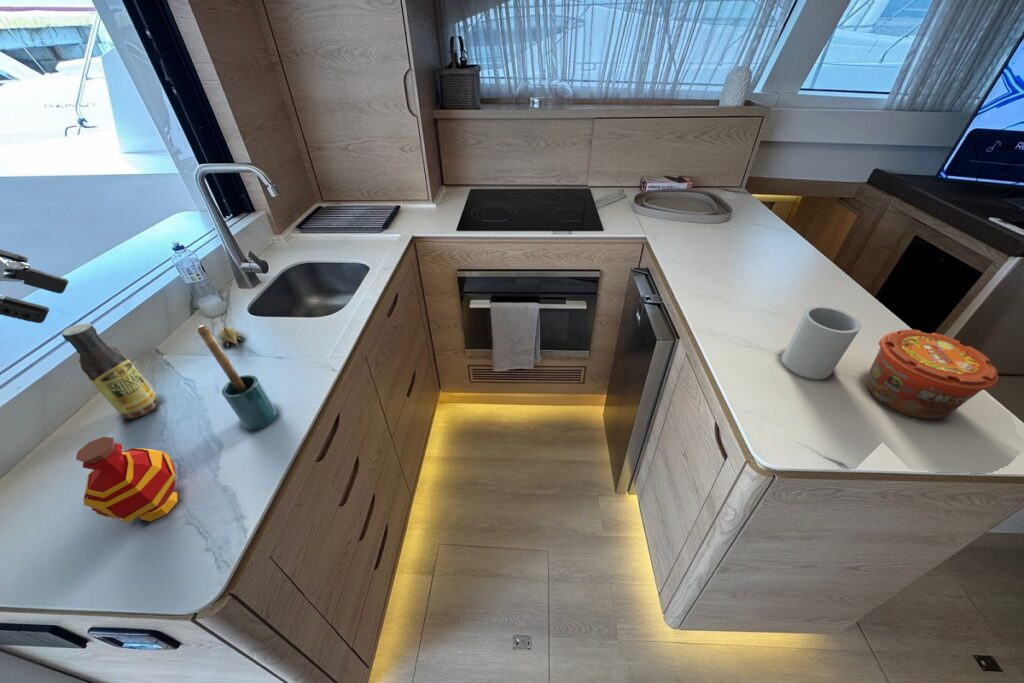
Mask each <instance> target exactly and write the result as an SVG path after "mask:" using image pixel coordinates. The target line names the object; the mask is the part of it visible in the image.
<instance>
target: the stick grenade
mask: <svg viewBox="0 0 1024 683" xmlns="http://www.w3.org/2000/svg"><path fill="white" fill-rule="evenodd" d="M197 333H198V334H199V336H200V338H201V339H202V340H203V342H204V343H205V345H206V346H207V348H208V350H209V351H210V353H211V354H212V355H213V357H214V359H215V361H217V363H218V365H219V366H220V368H221V369H222V371H223V372H224V374H225V375H226V377H227V378H228V380H229V381H231V383H232V384H233V386H234V387H235V389H236V390H237V392H238V393H237V394H240V393H243V392H245V391H247V390H248V389H250V388H246V386H245V385H244V383H243V382H242V380H241V378H240V374H238V372H237V370H236V369H235V367H234V366H233V364H232V363H231V361H230V359H229V358H228V356H227V355H226V353H225V351H224V350H223V349H222V347H221V344H220V343H219V342H218V340H217V339H216V338H215V336H214V334H213V333H212V331H211V330H210V328H209V327H208V326H207V325H200V326H198V327H197ZM237 394H236V395H237Z"/></svg>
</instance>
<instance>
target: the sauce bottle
mask: <svg viewBox="0 0 1024 683" xmlns="http://www.w3.org/2000/svg"><path fill="white" fill-rule="evenodd" d="M61 336H62V338H63V339H64V340H65V341H66V342H68V343H70V344H71V346H72V347H73V348H74V349H75V351H76V353H77V354H78V355H79V359H78V362H79V365H80V368H81V370H82V372H83V373H85V374H86V376H87V378H88V379H89V381H90V382H91V383H92V384H93V386H95V388H97V390H98V391H99V392H100V393H101V394H102V396H103V397H104V398H105V399H106V401H108V402H109V404H110V405H111V407H113V408H114V409H115V410H116V412H117V413H119V414H120V415H121V416H122V417H124V418H126V419H128V420H129V419H136V418H140V417H142V416H145V415H146V414H149V413H150V412H152V411H153V410H154V409H155V408H156V406H157V405H158V404H159V400H158V397H157V396H156V393H155V392H154V391H153V389H152V388H151V387H150V385H149V384H148V383H147V382H146V380H145V379H144V377H143V376H142V375H141V374H140V372H139V371H138V370H137V368H136V367H135V366H134V365H133V363H132V362H131V361H130V360H129V359H128V357H126V356H125V354H124V353H123V352H122V351H121V350H120V349H119V348H117V347H116V346H113V345H111V344H107V343H106V342H105V340H104V339H102V337H101V336H100V335H99V333H98V332H97V329H96V328H95V326H93V324H92V323H90V322H82V323H78V324H74V325H72V326H69V327H67V328H66V329H64V330H63V331H62V332H61Z"/></svg>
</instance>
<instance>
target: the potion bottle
mask: <svg viewBox="0 0 1024 683" xmlns="http://www.w3.org/2000/svg"><path fill="white" fill-rule="evenodd" d="M75 460H76V461H80V462H82V468H83V469H86V470H91V471H90V472H89V473H88V474H87V478H86V485H85V490H84V495H83V499H82V500H83V505H84V506H85V507H88V508H90V509H91V510H92V511H93V512H95V513H96V514H97V515H99V516H102V517H105V518H109V519H112V520H115V521H120V522H123V523H129V522H130V521H132V520H134V519H136V518H137V519H138V518H139V519H140V520H143V521H147V522H152V521H155V520H156V519H159V518H161V517H164V516H165V515H167V514H168V513H169V512H170V511H171V510H172V509H173V508H174V506H175V505H176V504H177V503H178V491H177V492H176V491H175V487H176V466H175V464H174V462H173V459H172V458H170V454H168V453H167V452H164V451H161V450H156V449H150V448H138V447H132V448H129V449H126V450H123V444H122V443H117V442H115V440H114V437H110V436H102V437H99V438H97V439H93V440H91V441H88V442H87V443H86V444H85V445H84V446H82V447H81V448H79V450H78V451H77V452H76V457H75Z"/></svg>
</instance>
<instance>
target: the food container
mask: <svg viewBox="0 0 1024 683" xmlns="http://www.w3.org/2000/svg"><path fill="white" fill-rule="evenodd" d="M878 345H879V348H878V352H877V354H876V356H875V358H874V360H873V362H872V364H871V367H870V369H869V370H868V373H867V375H866V377H865V379H864V385H865V388H866V390H867V391H868V393H869V394H870V396H871V397H873V398H874V399H875V400H876V401H878V402H879V403H881V404H883V405H884V406H886V407H887V408H889V409H891V410H893V411H895V412H897V413H900V414H903V415H906V416H909V417H912V418H916V419H920V420H931V421H932V420H941V419H944V418H947V417H948V416H949V415H951V414H952V413H953V412H954V411H956V410H957V409H959V408H960V407H962V405H964V404H966V403H967V401H969V400H971V399H972V398H974V397H975V396H976V395H978V394H979V393H980V392H981V391H985V390H988V389H991V388H993V387H994V386H995V385H997V383H998V380H999V374H998V370H997V369H996V367H995V366H994V365H993V364H992V363H991V362H990V361H991V359H989V358H988V357H987V356H986V355H985V354H984V353H982V352H981V351H979V350H978V349H976V348H974V347H973V346H965V345H964V344H961V341H960V340H958V339H955V338H953V337H949V336H947V335H944V334H940V333H936V332H932V333H927V332H922V330H920V329H900V330H898V331H891V332H889V333H886V334H885V335H883V336H882V337H881V339H880V340H879V342H878Z"/></svg>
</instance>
